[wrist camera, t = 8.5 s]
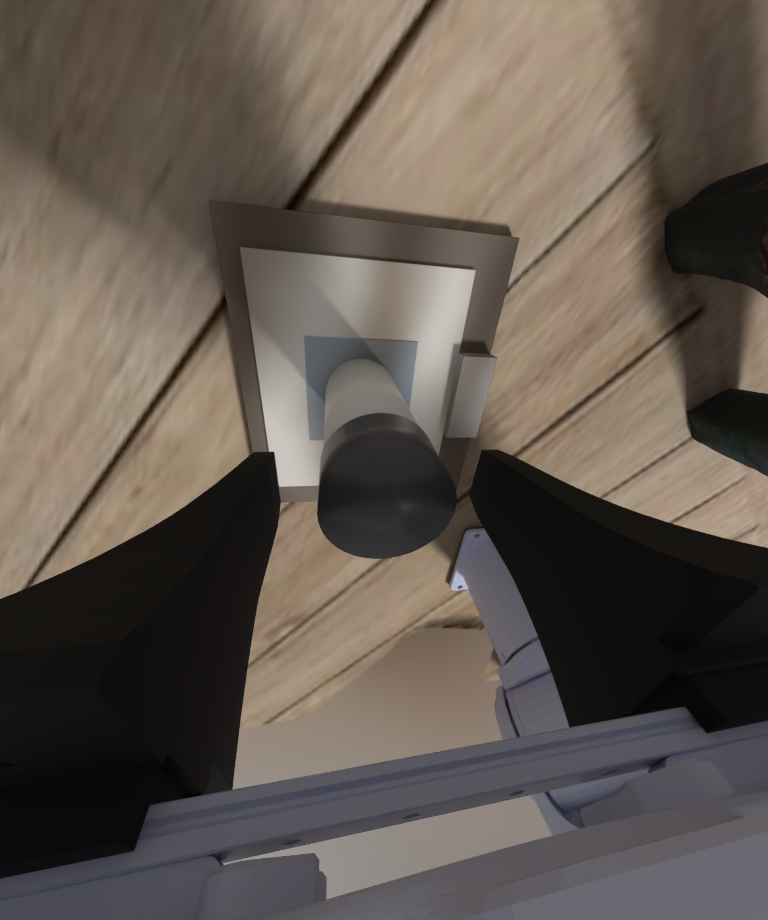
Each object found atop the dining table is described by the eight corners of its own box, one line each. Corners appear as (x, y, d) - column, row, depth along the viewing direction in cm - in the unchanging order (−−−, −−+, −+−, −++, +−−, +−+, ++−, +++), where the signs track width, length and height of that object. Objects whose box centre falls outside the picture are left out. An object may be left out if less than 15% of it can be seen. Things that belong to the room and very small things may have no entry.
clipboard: (513, 239, 15) (529, 236, 14) (451, 491, 24) (458, 503, 22) (213, 202, 13) (200, 195, 12) (263, 497, 21) (259, 511, 20)
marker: (400, 358, 17) (471, 451, 8) (392, 427, 19) (442, 554, 11) (323, 354, 16) (314, 451, 8) (324, 426, 18) (319, 562, 10)
